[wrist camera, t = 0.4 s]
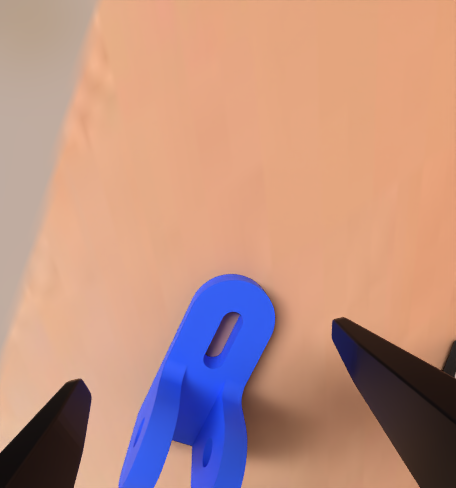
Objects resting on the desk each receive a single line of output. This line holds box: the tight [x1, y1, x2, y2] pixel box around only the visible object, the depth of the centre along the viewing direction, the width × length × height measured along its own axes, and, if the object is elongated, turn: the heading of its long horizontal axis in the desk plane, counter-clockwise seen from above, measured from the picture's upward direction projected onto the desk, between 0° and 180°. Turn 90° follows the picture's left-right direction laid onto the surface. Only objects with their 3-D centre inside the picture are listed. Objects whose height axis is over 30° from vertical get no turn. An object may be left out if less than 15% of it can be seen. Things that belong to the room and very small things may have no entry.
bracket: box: [119, 274, 275, 488], centre depth 22 cm, size 18×8×9 cm, turn 154°
